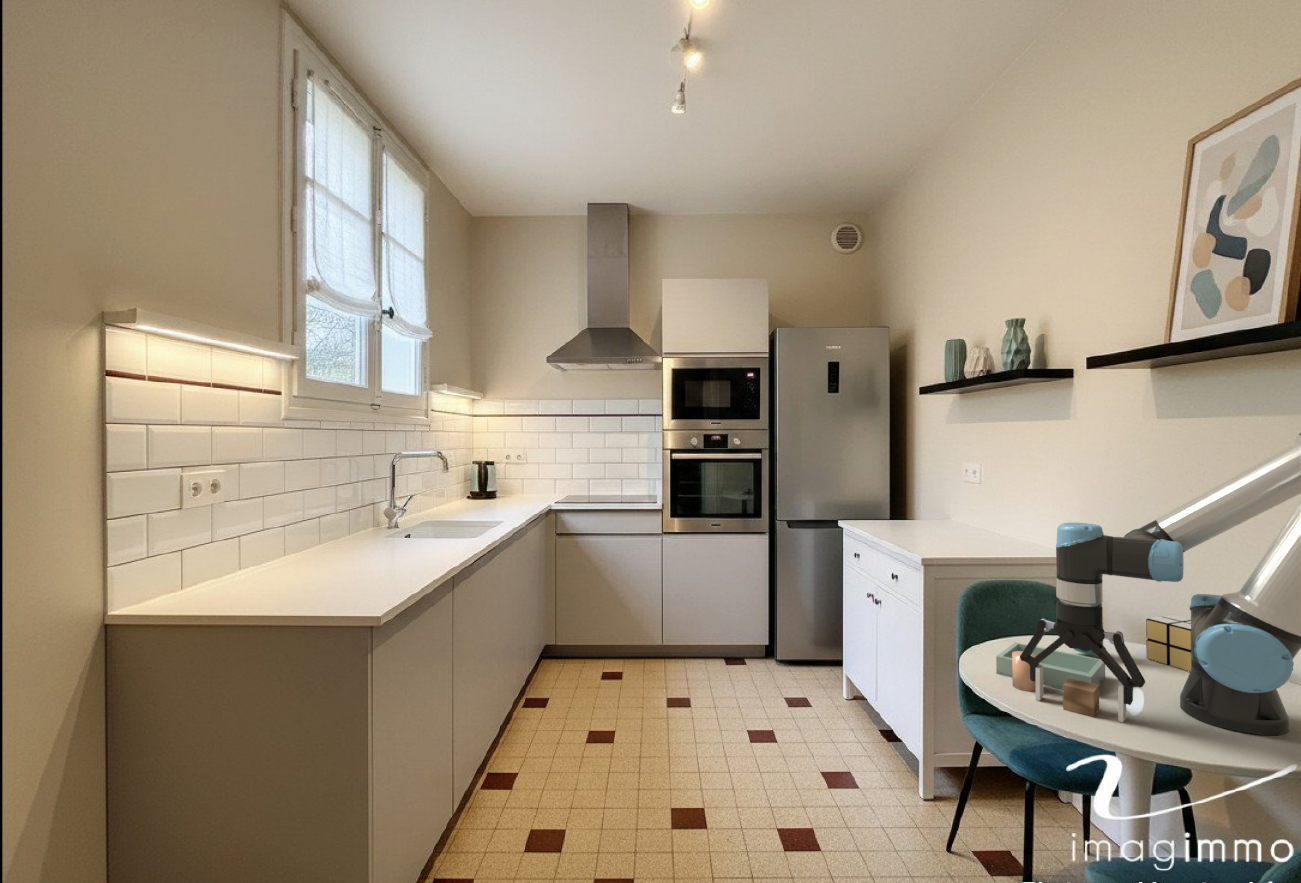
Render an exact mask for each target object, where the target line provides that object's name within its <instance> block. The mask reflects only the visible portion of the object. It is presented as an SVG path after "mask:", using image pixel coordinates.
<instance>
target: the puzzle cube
mask: <svg viewBox="0 0 1301 883" xmlns="http://www.w3.org/2000/svg"><path fill="white" fill-rule="evenodd" d="M1145 627H1146V629H1145V632H1146V634H1145V635H1146V638H1147V639H1146V641H1145V642H1146V646H1145V647H1146V659H1147V660H1148V659H1149V661H1152V660H1153V661H1152V662H1155V661H1156V663H1158V664H1162V665H1165V666H1170V667H1172V668H1176V669H1178V670H1182V671H1185V672H1188V671H1189V672H1188V673H1190V672H1191V666H1192V665H1191V617H1190V618H1189V617H1185V616H1181V615H1176V614H1168V615H1163V616H1162V615H1161V616H1156V617H1147V618H1146V620H1145Z"/></svg>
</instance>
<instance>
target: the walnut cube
mask: <svg viewBox="0 0 1301 883" xmlns="http://www.w3.org/2000/svg"><path fill="white" fill-rule="evenodd" d="M1062 697H1063V699H1062V700H1063V701H1062V703H1063V704H1062V705H1063V707H1062V708H1063V711H1066V712H1070V713H1073V714H1078V715H1082V716H1085V717H1090V718H1095V717H1096V715H1097V714H1098V712H1099V711H1100V686H1099V685H1097V684H1093V683H1089V682H1084V681H1080V680H1075V679H1071V678H1069V679H1068V680H1067V681H1066V682H1065V683H1064V685H1063V689H1062Z"/></svg>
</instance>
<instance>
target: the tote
mask: <svg viewBox="0 0 1301 883" xmlns="http://www.w3.org/2000/svg"><path fill="white" fill-rule="evenodd" d="M1027 645H1028V643H1027V644H1026V643H1021V642H1013V643H1012V644H1010V645H1009V646H1008V647H1007V648H1005V649H1004V650H1003V651H1001V652H999V654H997V655H996V656H995V658H996V660H995V661H996V663H995V664H996V669H995V671H996V674H997V675H1000V676H1005V677H1008V678H1009V677H1010V678H1012V652H1014V651H1024V649H1025V648H1026V646H1027ZM1046 648H1047V647H1041V646H1038V645H1037V646H1036V648H1035V649H1034V651H1033V652H1032V653H1034V654H1037V655H1038V654H1039V653H1041V652H1042V651H1043V650H1044V649H1046ZM1039 664H1040V665H1043V686H1047V687H1050V688H1055V689H1059V690H1063V685H1064V683H1065V682H1066V681H1067V680H1068V679H1069V678H1071V679H1075V680H1080V681H1084V682H1089V683H1093V684H1097V685H1099V687H1100V686H1101V685H1102V683H1103V682H1104V681H1105V679H1106V665H1105V664H1104V662H1103V661H1102V660H1101V659H1100V658H1095V657H1091V656H1087V655H1086V656H1085V655H1081V654H1075V653H1072V652H1066V651H1062V650H1057V649H1056V650H1055V651H1054V652H1052V653H1051V654H1050V655H1049V656H1047V657H1046V658H1045V659H1043V660H1042V661H1041V662H1040V663H1039Z"/></svg>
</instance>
